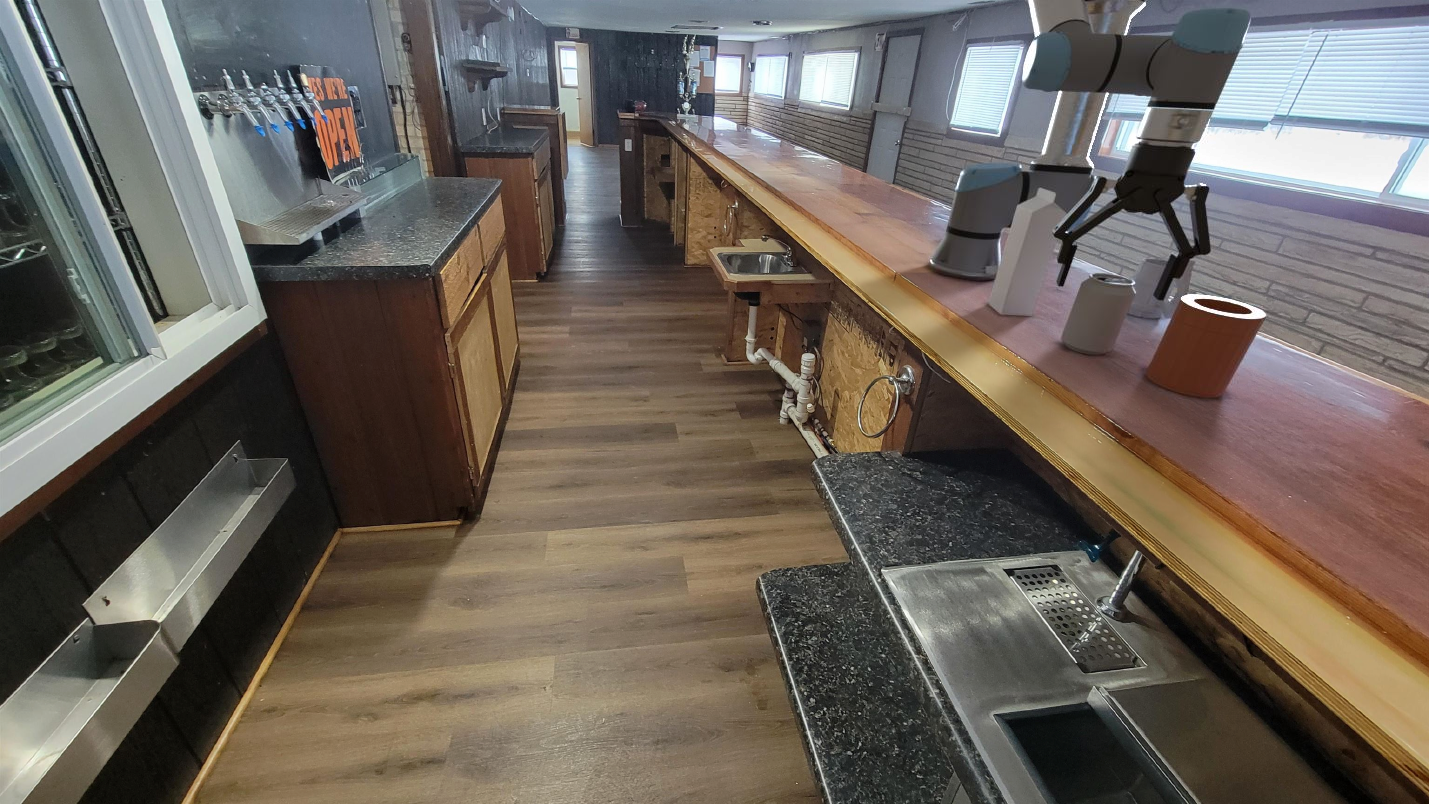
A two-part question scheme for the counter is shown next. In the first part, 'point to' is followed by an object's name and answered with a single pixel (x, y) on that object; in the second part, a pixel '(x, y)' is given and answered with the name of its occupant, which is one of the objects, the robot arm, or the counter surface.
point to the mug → (1147, 284)
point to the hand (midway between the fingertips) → (1107, 291)
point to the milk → (1026, 255)
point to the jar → (1204, 345)
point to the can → (1098, 313)
